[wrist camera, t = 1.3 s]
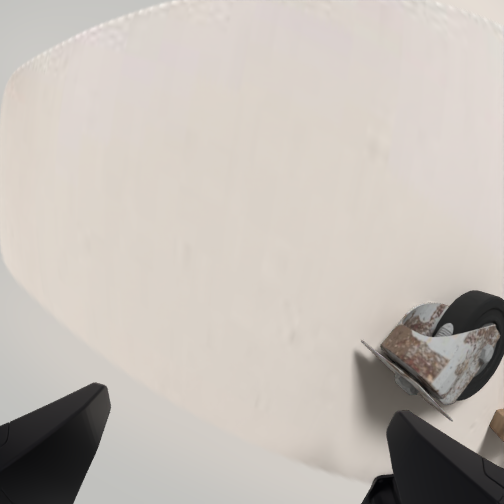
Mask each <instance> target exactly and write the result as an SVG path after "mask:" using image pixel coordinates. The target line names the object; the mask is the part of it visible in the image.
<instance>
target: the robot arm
mask: <svg viewBox="0 0 504 504" xmlns="http://www.w3.org/2000/svg"><path fill="white" fill-rule="evenodd" d="M110 409H111V404H110V399H109V394H108V389H107V387H106V386H105V385H103V384H99V383H92V384H90V385H88V386H86V387H83V388H81V389H79V390H77V391H76V392H73V393H71V394H69V395H67V396H65V397H63V398H61V399H59V400H57V401H54V402H53V403H50V404H48V405H46V406H44V407H42V408H39V409H37V410H35V411H33V412H31V413H28V414H26V415H24V416H22V417H20V418H17V419H15V420H13V421H11V422H10V423H6V424H4V425H1V426H0V504H73V503H74V501H75V498H76V496H77V494H78V491H79V489H80V487H81V485H82V482H83V480H84V478H85V476H86V473H87V471H88V469H89V467H90V465H91V462H92V460H93V458H94V456H95V454H96V451H97V449H98V446H99V443H100V440H101V437H102V434H103V431H104V428H105V425H106V422H107V419H108V416H109V413H110ZM386 435H387V441H388V446H389V452H390V458H391V464H392V469H393V473H394V474H390V475H381V476H378V477H376V479H375V480H374V482H373V484H372V486H371V488H370V490H369V492H368V493H367V495H366V497H365V498H364V500H363V502H362V503H361V504H504V469H503V468H501V467H499V466H497V465H495V464H494V463H492V462H490V461H488V460H487V459H485V458H482V456H480V455H478V454H477V453H475V452H473V451H472V450H470V449H468V448H467V447H465V446H464V445H462V444H460V443H459V442H457V441H456V440H454V439H452V438H451V437H449V436H448V435H446V434H444V433H443V432H441V431H440V430H438V429H437V428H435V427H433V426H432V425H430V424H429V423H427V422H426V421H424V420H423V419H421V418H420V417H418V416H416V415H415V414H413V413H412V412H410V411H409V410H402V411H397V412H396V413H395V414H394V416H393V418H392V420H391V422H390V424H389V426H388V428H387V432H386Z"/></svg>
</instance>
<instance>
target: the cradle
mask: <svg viewBox="0 0 504 504" xmlns="http://www.w3.org/2000/svg"><path fill="white" fill-rule="evenodd" d="M489 426H490V427H491V428H492V429H493V431H494V432H495V433H496V434H497V435H498V436H499V437H500V438H501V439H502V441H503V442H504V409H500V410H497V411H496V413H495V415H494V417H493V419H492V421H491V423H490V425H489Z"/></svg>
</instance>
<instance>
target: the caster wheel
mask: <svg viewBox="0 0 504 504" xmlns="http://www.w3.org/2000/svg"><path fill="white" fill-rule="evenodd" d="M361 342H362V343H363V344H364V345H365V346H366V347H367V348H368V349H369V350H370V351H371V352H373V353H374V354H375V355H376V356H377V357H378V358H379V359H380V360H381V361H382V362H383V363H384V364H385V365H386V366H387V367H388V368H389V369H390V370H391V371H392V372H393V373H395V374H396V375H395V382H396V384H398V385H399V386H400V387H401V388H402V389H403V390H404V391H405V392H407V393H408V394H409V395H417V394H419V395H420V396H421V397H422V398H424V399H425V400H426V401H427V402H428V403H430V404H431V405H432V406H433V407H435V408H436V409H437V410H438V411H439V412H441V413H442V414H443V415H444V416H446V417H447V418H448V419H449V420H451V421H453V420H452V419H451V418H450V417H449V415H448V414H447V413H446V412H445V411H444V410H443V409H442V408H441V407H440V406H439V405H438V404H437V403H436V402H435V401H434V400H433V399H432V398H431V397H430V396H429V393H430V394H431V395H432V396H433V397H434V398H436V399H437V400H439V401H440V402H442V403H444V404H453V403H454V402H455V401H456V400H457V401H459V400H464V399H467V398H469V397H471V396H472V395H474V394H475V393H477V392H478V391H479V390H480V389H481V388H482V387H483V386H484V385H485V384H486V383H487V382H488V381H489V379H490V378H491V377H492V375H493V374H494V372H495V371H496V369H497V367H498V365H499V364H500V362H501V359H502V357H503V355H504V300H503V299H502V298H500V297H498V296H494V295H491V294H488V293H484V292H481V291H474V290H473V291H469V292H467V293H465V294H463V295H461V296H460V297H459V298H457V299H456V300H455V301H454V302H453V303H452V304H451V305H450V306H447V305H444V304H440V303H423V304H420V305H418V306H416V307H414V308H412V309H411V310H410V311H409V312H408V313H406V315H405V316H404V317H403V318H402V320H401V321H400V322H399V323H398V325H397V326H396V327H395V328H394V330H393V331H392V332H391V333H390V335H389V336H388V337H387V338H386V339H385V341H384V342H383V343H382V344H381V349H382V350H383V351H384V352H385V353H386V355H387V356H388V357H389V358H390V359H391V360H392V361H393V362H394V363H391V362H390V361H388V360H387V359H386V358H384V357H383V356H382V355H381V354H379V353H378V352H377V351H375V350H374V349H373V348H372V347H370V346H369V345H368V344H366V343H365V342H364V341H363V340H361Z"/></svg>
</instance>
